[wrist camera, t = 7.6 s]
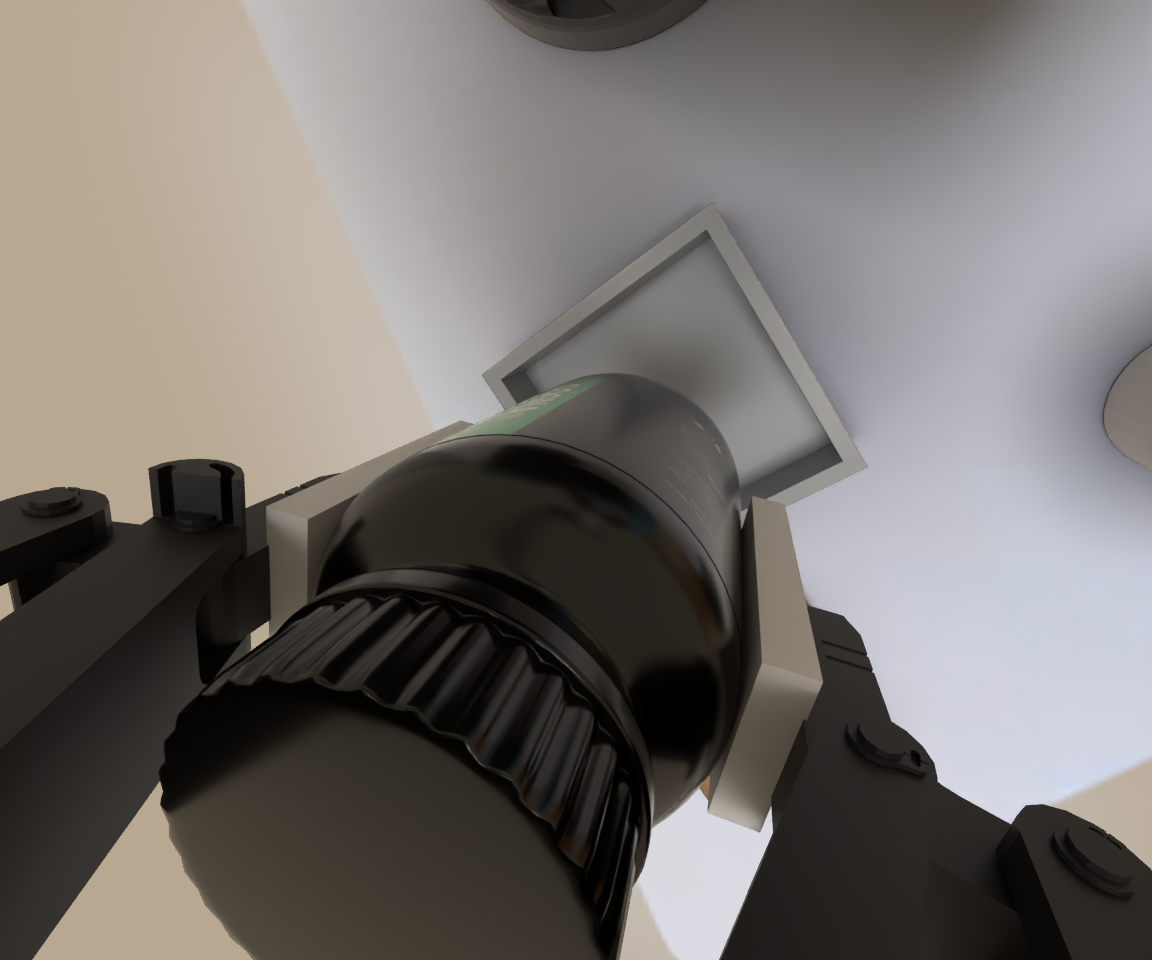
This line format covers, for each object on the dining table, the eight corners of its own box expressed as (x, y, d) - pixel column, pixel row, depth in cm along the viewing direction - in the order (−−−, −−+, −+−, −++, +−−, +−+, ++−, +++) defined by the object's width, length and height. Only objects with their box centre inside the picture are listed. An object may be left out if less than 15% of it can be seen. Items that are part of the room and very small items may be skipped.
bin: (716, 215, 25) (712, 201, 22) (850, 443, 27) (868, 467, 23) (512, 365, 30) (481, 375, 26) (635, 551, 31) (621, 585, 28)
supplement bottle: (532, 340, 15) (27, 444, 4) (777, 409, 14) (905, 779, 3) (491, 551, 18) (101, 949, 7) (697, 624, 17) (617, 1244, 6)
